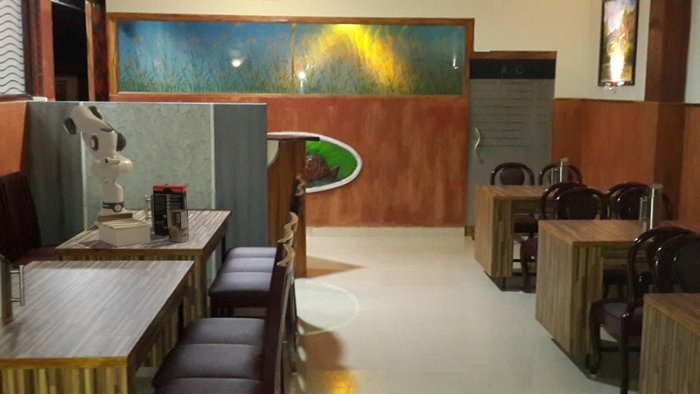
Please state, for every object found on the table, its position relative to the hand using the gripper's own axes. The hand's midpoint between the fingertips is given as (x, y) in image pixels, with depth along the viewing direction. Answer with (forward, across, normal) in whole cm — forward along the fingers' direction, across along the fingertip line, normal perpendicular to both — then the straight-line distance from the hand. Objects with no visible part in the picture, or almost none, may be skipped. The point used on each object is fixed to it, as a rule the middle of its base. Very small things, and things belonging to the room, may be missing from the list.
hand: (109, 185), depth 391 cm
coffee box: (+28, +31, +24) cm, 48 cm away
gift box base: (+28, +17, 0) cm, 33 cm away
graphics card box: (+28, +15, +27) cm, 42 cm away
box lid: (+19, +17, 0) cm, 25 cm away
